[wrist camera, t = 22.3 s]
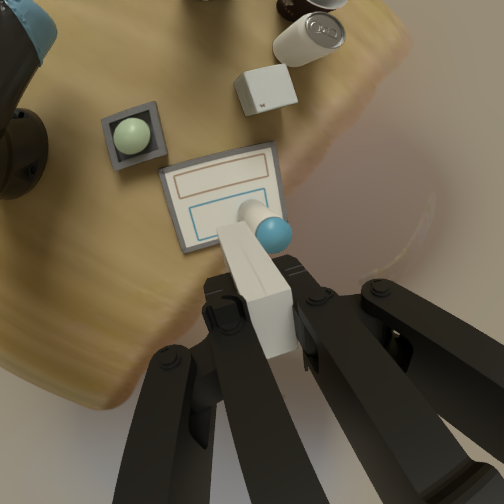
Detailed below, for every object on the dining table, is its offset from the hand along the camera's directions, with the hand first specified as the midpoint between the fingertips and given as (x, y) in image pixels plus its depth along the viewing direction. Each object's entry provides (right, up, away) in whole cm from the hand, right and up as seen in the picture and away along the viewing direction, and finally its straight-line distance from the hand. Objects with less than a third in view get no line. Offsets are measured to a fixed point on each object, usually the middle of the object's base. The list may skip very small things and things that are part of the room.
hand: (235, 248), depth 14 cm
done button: (-16, +16, +20) cm, 30 cm away
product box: (+2, +24, +23) cm, 33 cm away
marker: (0, +6, +29) cm, 30 cm away
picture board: (-3, +9, +29) cm, 30 cm away
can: (+7, +32, +21) cm, 39 cm away
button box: (-16, +17, +21) cm, 32 cm away
